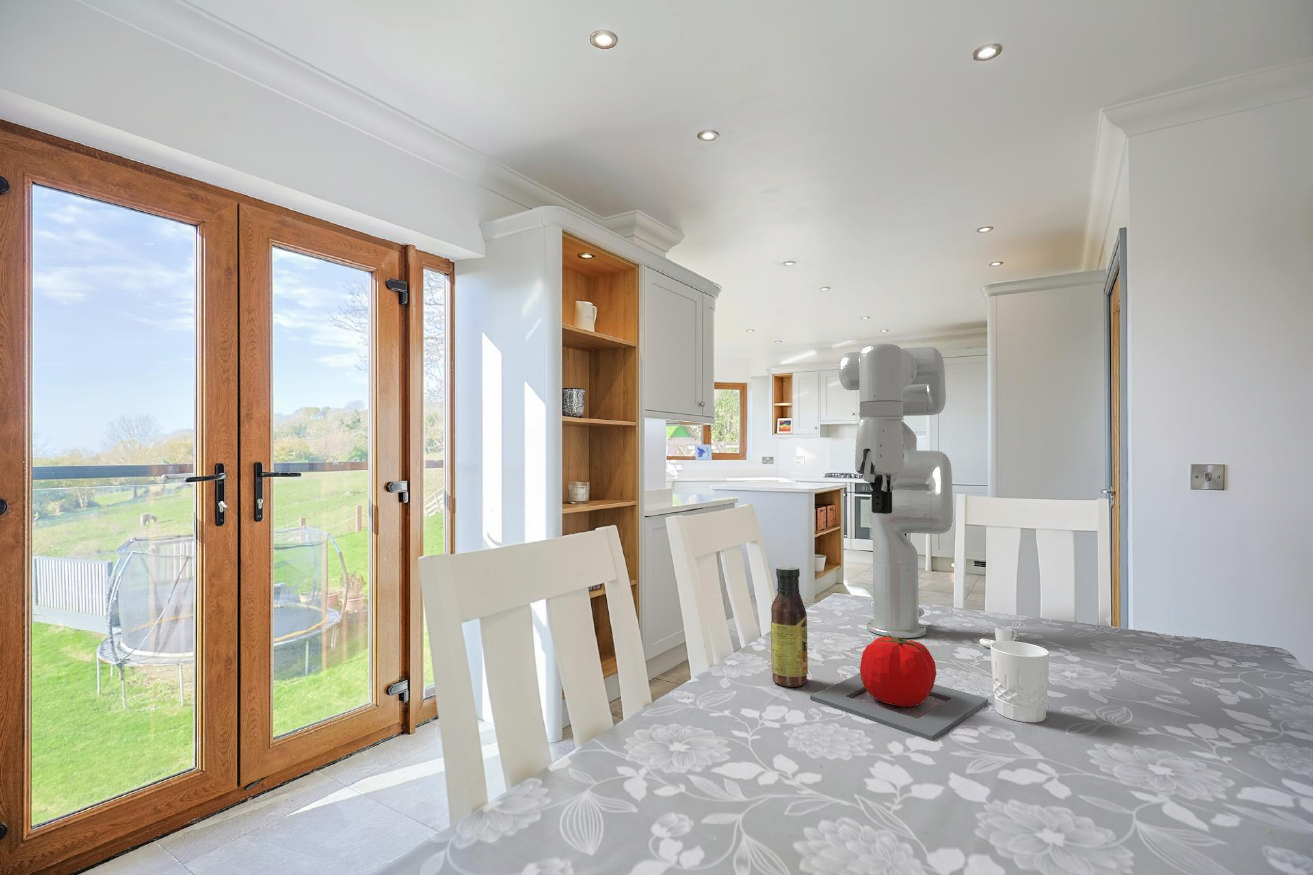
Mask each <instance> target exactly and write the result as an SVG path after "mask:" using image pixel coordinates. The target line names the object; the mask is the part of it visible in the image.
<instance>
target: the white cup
mask: <svg viewBox="0 0 1313 875" xmlns="http://www.w3.org/2000/svg"><path fill="white" fill-rule="evenodd" d="M989 649H990V662H991V663H990V664H991V677H992V689H993V690H992V691H993V693H994V709H995V711H996V713H997V714H999V715H1001V716H1002V717H1005V718H1007V719H1010V720H1013V721H1017V722H1022V723H1035V724H1036V723H1041V722H1044V721H1045V719H1046V718H1047V701H1048V689H1049V672H1050V671H1049V669H1050V668H1049V667H1050V651H1049V650H1048V649H1047V648H1044V647H1042V646H1039V645H1036V644H1031V643H1028V642H1023V641H1022V642H1020V641H1015V640H1014V641H998V642H993V643H991V644H990V648H989Z"/></svg>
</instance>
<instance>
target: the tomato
mask: <svg viewBox="0 0 1313 875" xmlns="http://www.w3.org/2000/svg"><path fill="white" fill-rule="evenodd" d="M887 635H888V634H887ZM889 636H890V635H888V636H881V637H877V638H875V639H874V640H873V641H872V642H871V643H869V644H867V645H866V646H865V648H864V649H863V651H862V655H861V658H860V666H859V674H861V680H862V682H863V685H864V687H865V688H866V690H865V691H867V692H868V694H869V695H870V696H871V697H873V698H874V699H876V700H877V701H879V702H882V703H885V704H888V705H893V706H897V707H902V708H903V707H916V706H919V705H921V704H922V703H923V702H924V701H926V700H927V698H929V696H930V695H929V694H930V692H931V690H932V689H933V686H934V684H935V682H936V677H937V667H936V662H935V659H934V658H933V656H932V653H931V652H930V651H929V649H928V648H927V647H926V646H925V645H924V644H922V643H921V642H919V641H915V640H912V639H911V638H902V637H898V638H897V637H892V636H890V637H889Z"/></svg>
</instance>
